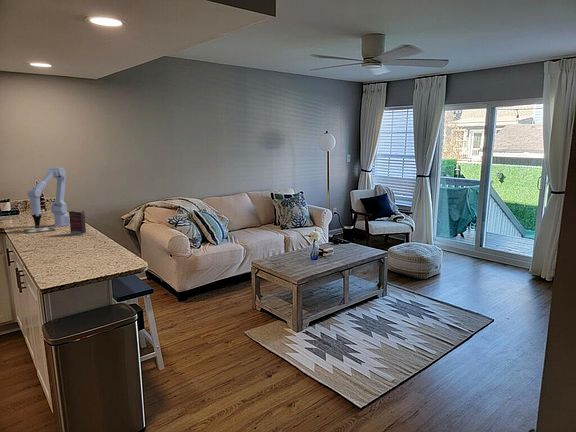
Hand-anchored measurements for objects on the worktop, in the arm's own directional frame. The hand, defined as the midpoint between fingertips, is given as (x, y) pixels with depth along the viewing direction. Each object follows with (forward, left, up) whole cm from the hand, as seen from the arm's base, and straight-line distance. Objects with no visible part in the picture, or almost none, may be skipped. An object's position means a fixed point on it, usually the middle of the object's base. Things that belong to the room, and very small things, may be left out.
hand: (37, 224), depth 283 cm
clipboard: (-1, +1, -4) cm, 4 cm away
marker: (0, 0, -2) cm, 2 cm away
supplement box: (-21, +28, -4) cm, 35 cm away
